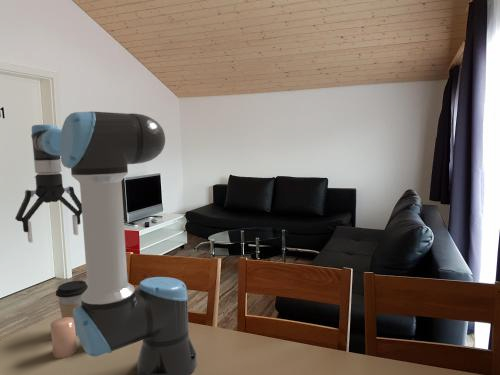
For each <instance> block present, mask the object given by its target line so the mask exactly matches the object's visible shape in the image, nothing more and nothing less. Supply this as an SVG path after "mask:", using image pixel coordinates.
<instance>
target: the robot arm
mask: <svg viewBox="0 0 500 375" xmlns="http://www.w3.org/2000/svg"><path fill="white" fill-rule="evenodd" d="M165 134H166V133H165V131H164V129H163V127H162V126H161V125H160V124H159V122H158V121H156V120H155V119H153V118H152V117H150V116H147V115H145V114H141V113H134V112H133V113H127V112H126V113H123V112H107V111H93V110H89V111H76V112H75V111H74V112H72V113H70V114H68V115H67V116H66V117H65V119H64V121H63V125H62V126H61V129H60V128H58V126H57V125H55V124H33V125H32V126H31V143H32V152H33V161H34V162H33V163H34V172H35V174H36V175H35V186H36V187H35V190H29V189H25V191H24V198H23V201H22V202H21V203H20V204H21V205H20V207H19V209H18V211H17V213H16V215H15V220H16V221H17V222H21V223H22V230H23V232H24V233H27V241H28V242H29V243H30V244H31V243H33V232H32V230H33V229H32V221H30V219H31V218H32V217H33V215H34V214H35V213H36V211H37V210H38V209H39V208H40V206H41V205H43V203H45V204H49V203H52V202H53V203H57V202H59V201H60V202H61V203H62V204H63V205H64V206H66V208H67V209H69V211H71V212H72V213H73V214H72V215H71V218H72V230H73V235H75V236H78V235H79V225H81V217H82V229H83V241H84V242H83V243H84V255H85V256H84V257H85V270H86V281H87V282H86V284H87V286H88V288H87V289H86V291H85V292H84V293H83V294H82V295H81V306H77V307H76V308H74V310H73V320H74V325H75V328H76V332H77V335H76V336H77V337H78V339H79V342H80V345H81V346H82V348H83V350H84V351H85V353H86V354H88V356H90V357H93V358H94V357H99V356H102V355H105V354H111V353H112V352H114V351H117V350H119V349H122V348H125V347H127V346H130V345H132V344H136V343H138V342H141V341H142V344H141V346H140V350H139V354H138V358H137V361H136V373H137V375H191V374H192V373H193V372H194V371H195V369H196V367H197V360H198V359H197V352H196V350H195V346H194V344H193V342H192V340H191V337H190V334H189V333H190V332H189V331H190V330H189V309H188V308H189V307H188V300H189V297H188V292H187V285H186V284H185V283H184V282H183V281H182V280H180V279H177V278H173V277H169V276H167V277H166V276H153V277H147V278H145V279H143V280H141V281H140V282H139V283H138V284H139V285H138V289H135V286H134V285H133V284H131V283H129V282H128V272H127V271H128V270H127V268H128V267H127V265H128V264H127V253H126V236H125V234H126V233H125V223H124V222H125V221H124V220H125V219H124V203H123V202H124V201H123V186H122V181H123V179H124V178H125V177H126V175H128V173H129V172H128V171H129V170H128V169H129V168H128V167H129V166H128V165H135V164H136V165H137V164H144V163H146V162H150V161H152V160H154V159H156V158H157V157H159V155H161V153H162V151H163V150H164V149H165V145H166V135H165ZM62 166H63V167H64V168H67V169H70V172H71V173H70V174H71V177H73V179H75V180H77V181H78V183H79V189H80V199H79V198H78V197H77V195H76V193H75V190H74V187H73V186H67V187H64V186H63V184H64V183H63V175H62ZM64 193H67V194H68V195H69V197H70V199H71V200H72V201H73V203H74V204H75V206H76V207H77V208H76V207H75V206H73V205H72V204H71V203H70V201H68V200H67V199H66V198H65V197H64V196H63V195H64ZM34 195H35V196H37V197H38V198H37V199H36V200H35V202H34V203H33V204H32V206H31V207H30V208H29V209H28V211H27V212H26V210H27V208H28V205H29V203H30V201H31V198H33V197H34ZM25 212H26V213H25Z"/></svg>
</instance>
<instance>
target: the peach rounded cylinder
mask: <svg viewBox="0 0 500 375" xmlns="http://www.w3.org/2000/svg"><path fill="white" fill-rule="evenodd" d="M50 334H51V335H50V336H51V345H52V356H53V358H55V359H58V360H59V359H65V358H69V357H71V356H73V355H75V354H76V353H77V351H78V346H77V335H76V332H75V325H74V320H73V318H72V317H64V318H62V317H60V318H57V319H55V320H53V321H52V322H50ZM75 352H76V353H75Z"/></svg>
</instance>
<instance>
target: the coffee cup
mask: <svg viewBox="0 0 500 375" xmlns="http://www.w3.org/2000/svg"><path fill="white" fill-rule="evenodd" d="M87 288H88V286H87V282H86V281H84V280H72V281H67V282H64V283H62V284H60V285H58V287H57V289H56V291H55V296H56V297H58V305H59V308H60V314H61V318H64V317H72V318H73V310H74V308H76V307H77V306H81V295H82V294H83V293H84V292H85V291H86V289H87ZM75 332H76V328H75ZM76 336H78V335H77V332H76Z"/></svg>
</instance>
